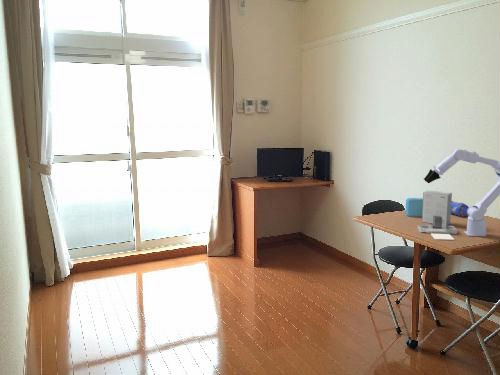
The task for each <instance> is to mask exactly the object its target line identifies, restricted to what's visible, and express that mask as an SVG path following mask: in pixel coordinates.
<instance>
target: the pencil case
mask: <svg viewBox="0 0 500 375" xmlns="http://www.w3.org/2000/svg"><path fill="white" fill-rule="evenodd" d="M468 208H469V205H467V204H466V203H464V202H457V201H453V200H452V201H451V215H454V216H458V217H461V218H463V217H466V216H468V214H467V210H468Z"/></svg>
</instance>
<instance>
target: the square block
mask: <svg viewBox="0 0 500 375" xmlns="http://www.w3.org/2000/svg"><path fill="white" fill-rule="evenodd" d="M432 225H433V228H442V226H443V225H442V217H441V216H433V224H432Z"/></svg>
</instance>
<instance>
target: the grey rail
mask: <svg viewBox="0 0 500 375" xmlns="http://www.w3.org/2000/svg"><path fill="white" fill-rule="evenodd" d="M418 229H419V230H418ZM417 230H418V231H419V233H420V232H427V233H426V234H431V233H433V234H450V235H452V234H454V235H457V234H458V229H457V228H456V227H455V226H454V225H447V226H444V225H442V228H433V224H432V225H431V224H417Z"/></svg>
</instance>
